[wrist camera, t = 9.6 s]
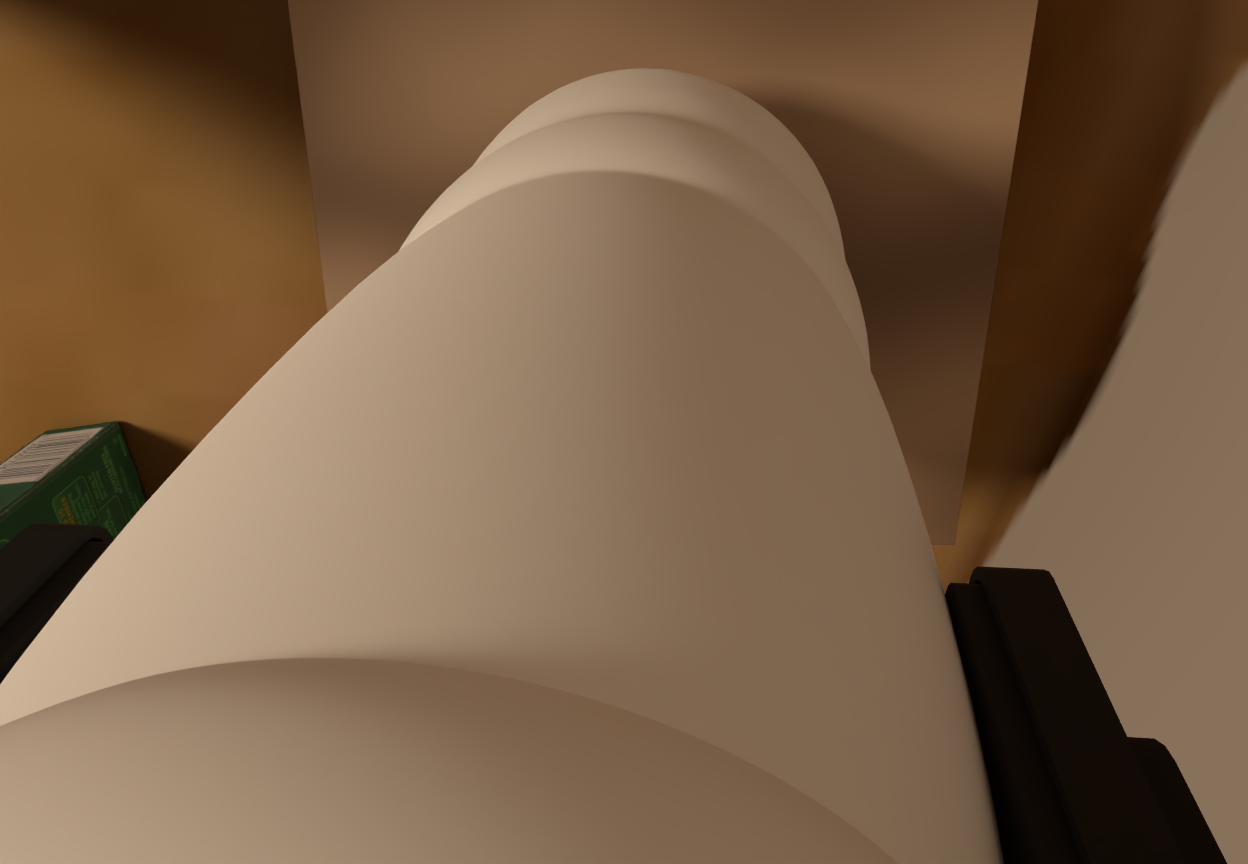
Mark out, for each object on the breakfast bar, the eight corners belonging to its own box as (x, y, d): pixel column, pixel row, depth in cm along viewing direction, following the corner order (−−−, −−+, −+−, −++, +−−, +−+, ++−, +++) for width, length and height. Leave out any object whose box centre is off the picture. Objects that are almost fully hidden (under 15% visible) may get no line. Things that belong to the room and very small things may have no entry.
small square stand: (380, -138, 26) (268, -148, 20) (979, -140, 25) (1061, -152, 19) (427, 397, 32) (353, 517, 26) (910, 415, 31) (954, 545, 25)
